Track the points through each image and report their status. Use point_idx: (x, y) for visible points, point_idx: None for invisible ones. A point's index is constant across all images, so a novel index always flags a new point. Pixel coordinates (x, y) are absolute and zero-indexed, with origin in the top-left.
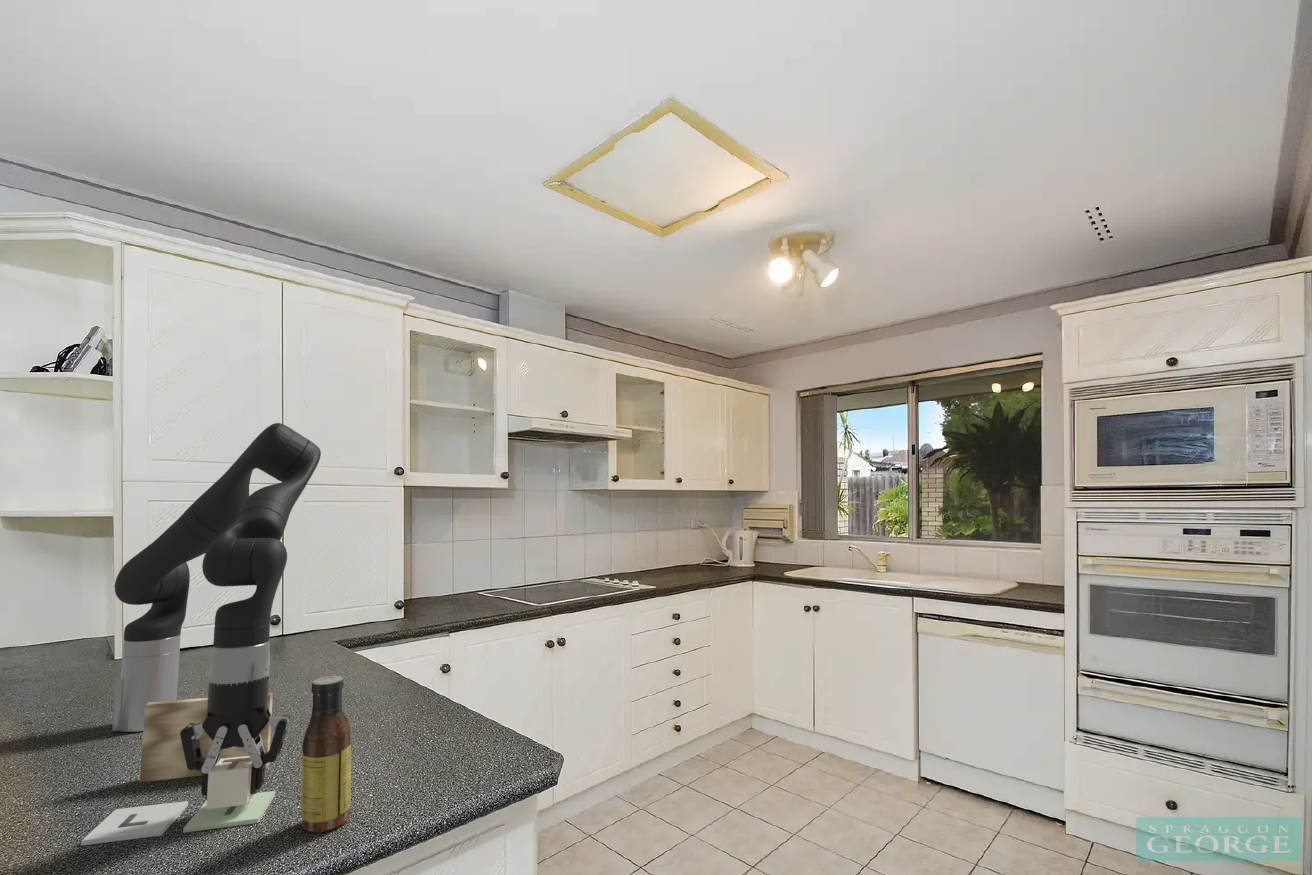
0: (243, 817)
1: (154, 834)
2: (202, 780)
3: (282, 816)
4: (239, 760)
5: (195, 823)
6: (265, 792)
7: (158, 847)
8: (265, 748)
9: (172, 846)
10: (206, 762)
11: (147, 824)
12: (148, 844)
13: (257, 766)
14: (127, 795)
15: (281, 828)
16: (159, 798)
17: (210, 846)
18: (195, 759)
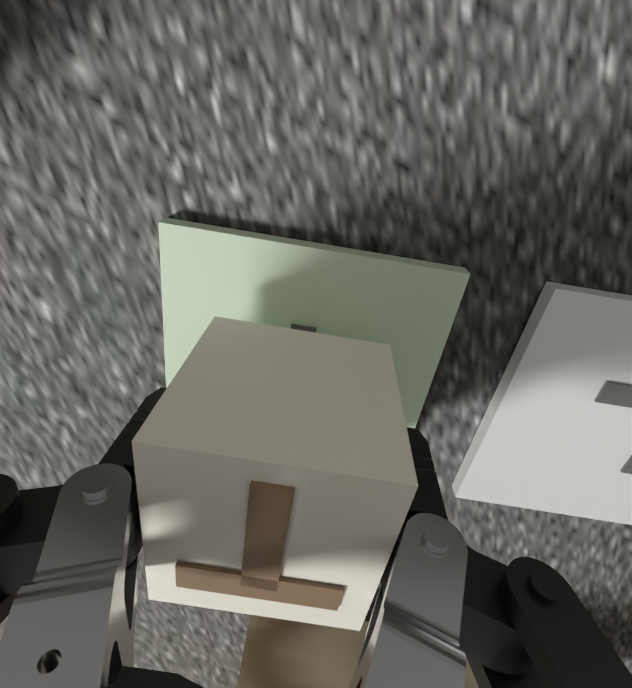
0: (230, 266)
1: (577, 288)
2: (437, 490)
3: (79, 241)
4: (241, 572)
5: (423, 297)
6: None
7: (568, 153)
8: (245, 678)
9: (509, 132)
10: (446, 589)
11: (600, 374)
12: (603, 212)
13: (105, 470)
14: (611, 603)
15: (30, 97)
16: (532, 557)
17: (335, 29)
18: (540, 638)
